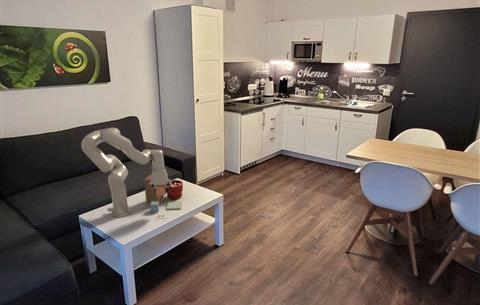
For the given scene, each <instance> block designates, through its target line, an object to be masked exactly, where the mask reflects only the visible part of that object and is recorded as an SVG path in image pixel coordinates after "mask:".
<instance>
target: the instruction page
mask: <svg viewBox="0 0 480 305" xmlns="http://www.w3.org/2000/svg"><path fill="white" fill-rule="evenodd" d="M167 216H168V213H156V214H155V215H154V218H153V219H154V220H157V219H167Z"/></svg>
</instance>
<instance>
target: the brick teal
mask: <svg viewBox="0 0 480 305" xmlns="http://www.w3.org/2000/svg"><path fill="white" fill-rule="evenodd" d="M149 206H150V213H152V214H153V213H159V212H160V204H159V201H156V202H151V204H149Z"/></svg>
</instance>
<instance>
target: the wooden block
mask: <svg viewBox="0 0 480 305" xmlns="http://www.w3.org/2000/svg"><path fill="white" fill-rule="evenodd" d="M151 180H152V174H149V175H148V176H147V177H146V178H144V180H143V183H144V185H143V186H144V194H145V201H146V204H147V205H150V204H151V202H156V201H159V205H160V204H161V203H162V202H163V201H164V199H165V195H158V196H157V195H156V192H155V188H154V187H152V186H151V185H150V184H149V182H150V181H151Z"/></svg>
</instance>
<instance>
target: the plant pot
mask: <svg viewBox="0 0 480 305" xmlns="http://www.w3.org/2000/svg"><path fill="white" fill-rule="evenodd" d="M170 180H171V181H172V183H171V184H170V185H169V186H168V192H167V193H166V197H167V198H168V199H170V200H177V199H181V198H182V196H183V189H184V183H183V181H182V180H179V179H170ZM168 183H169V181H168ZM168 183H167V184H168Z"/></svg>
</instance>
